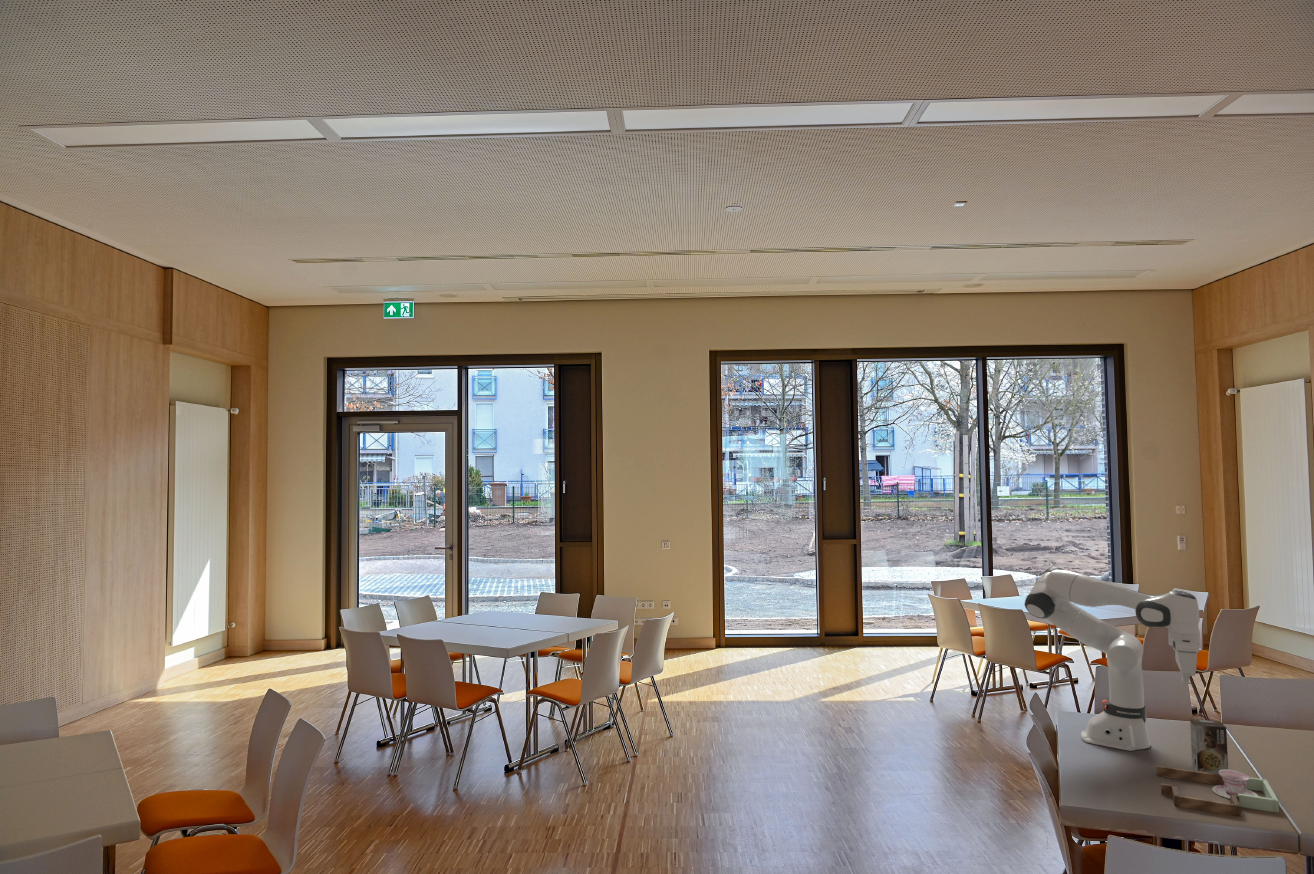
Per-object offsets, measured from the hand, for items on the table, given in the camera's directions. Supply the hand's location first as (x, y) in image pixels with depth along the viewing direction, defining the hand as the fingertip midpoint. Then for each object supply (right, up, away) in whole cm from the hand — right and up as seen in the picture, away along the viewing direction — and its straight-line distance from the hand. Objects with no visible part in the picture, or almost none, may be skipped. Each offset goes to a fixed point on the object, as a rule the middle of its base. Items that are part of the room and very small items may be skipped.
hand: (1185, 682), depth 263 cm
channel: (-5, -31, -14) cm, 34 cm away
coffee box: (+11, -31, +5) cm, 34 cm away
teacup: (+7, -31, -14) cm, 35 cm away
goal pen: (+9, -31, -17) cm, 36 cm away
